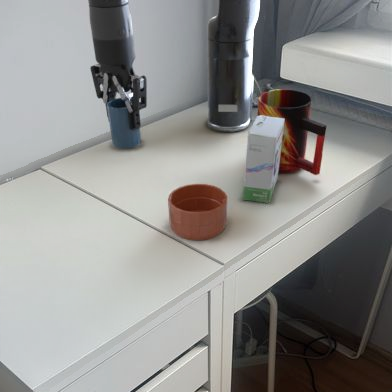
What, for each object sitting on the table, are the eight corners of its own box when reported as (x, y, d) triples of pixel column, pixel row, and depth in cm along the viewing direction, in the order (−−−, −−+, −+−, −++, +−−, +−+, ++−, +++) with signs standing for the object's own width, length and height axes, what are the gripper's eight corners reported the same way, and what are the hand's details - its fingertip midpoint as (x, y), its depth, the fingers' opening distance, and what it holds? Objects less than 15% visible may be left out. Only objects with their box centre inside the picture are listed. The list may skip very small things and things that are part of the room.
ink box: (251, 178, 95) (255, 113, 87) (278, 181, 94) (285, 116, 86) (241, 200, 89) (245, 133, 81) (270, 204, 88) (277, 136, 80)
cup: (127, 134, 110) (122, 95, 104) (146, 141, 107) (142, 101, 101) (106, 143, 107) (100, 104, 101) (125, 151, 104) (120, 111, 98)
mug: (317, 181, 94) (327, 115, 85) (247, 168, 98) (250, 104, 89) (330, 160, 100) (341, 96, 91) (264, 149, 104) (268, 86, 96)
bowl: (196, 205, 89) (195, 178, 85) (237, 223, 84) (239, 195, 81) (158, 227, 84) (155, 199, 80) (200, 247, 79) (200, 219, 76)
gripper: (154, 34, 91) (161, 128, 103) (102, 22, 98) (115, 111, 110) (123, 43, 87) (134, 140, 99) (71, 30, 94) (88, 122, 106)
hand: (124, 125), depth 104 cm, fingers closed on cup, 6 cm apart
